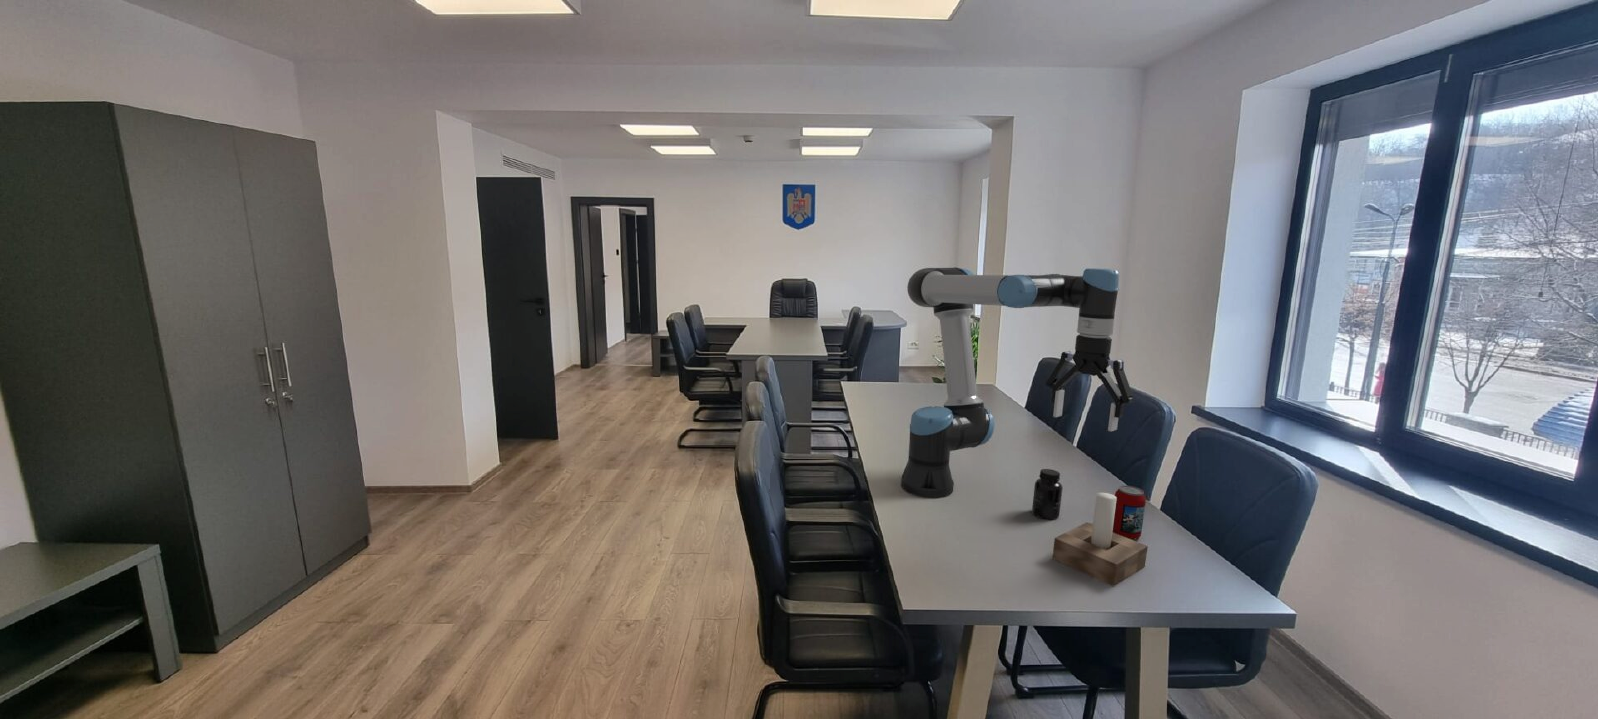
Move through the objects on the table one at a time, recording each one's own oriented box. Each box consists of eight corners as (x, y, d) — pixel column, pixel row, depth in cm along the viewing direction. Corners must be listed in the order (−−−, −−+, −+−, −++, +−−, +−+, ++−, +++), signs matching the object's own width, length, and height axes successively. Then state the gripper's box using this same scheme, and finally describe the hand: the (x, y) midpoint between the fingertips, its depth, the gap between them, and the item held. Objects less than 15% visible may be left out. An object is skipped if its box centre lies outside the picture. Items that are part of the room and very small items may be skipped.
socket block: (1052, 558, 138) (1054, 537, 137) (1084, 541, 146) (1086, 522, 145) (1113, 586, 127) (1116, 564, 126) (1144, 566, 135) (1147, 545, 134)
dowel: (1085, 561, 137) (1093, 495, 134) (1094, 556, 139) (1102, 491, 136) (1102, 568, 134) (1111, 501, 131) (1111, 563, 136) (1120, 497, 133)
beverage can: (1129, 543, 146) (1135, 497, 143) (1104, 531, 151) (1109, 486, 149) (1146, 538, 149) (1153, 492, 146) (1121, 526, 154) (1127, 482, 152)
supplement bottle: (1061, 521, 157) (1066, 477, 154) (1034, 518, 158) (1038, 475, 156) (1056, 510, 163) (1060, 468, 161) (1029, 507, 165) (1034, 466, 162)
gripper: (1036, 329, 148) (1028, 412, 152) (1142, 344, 128) (1129, 439, 132) (1053, 327, 152) (1045, 408, 156) (1158, 341, 133) (1145, 433, 137)
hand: (1083, 423), depth 144 cm, fingers open, 13 cm apart
